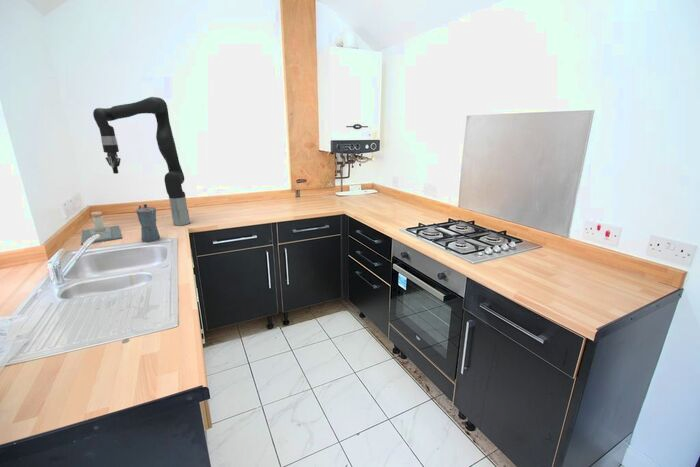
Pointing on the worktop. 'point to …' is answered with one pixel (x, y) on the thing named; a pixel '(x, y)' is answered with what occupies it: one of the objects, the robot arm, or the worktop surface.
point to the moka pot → (148, 223)
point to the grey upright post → (98, 221)
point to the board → (115, 236)
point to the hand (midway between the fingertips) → (116, 173)
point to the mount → (102, 233)
